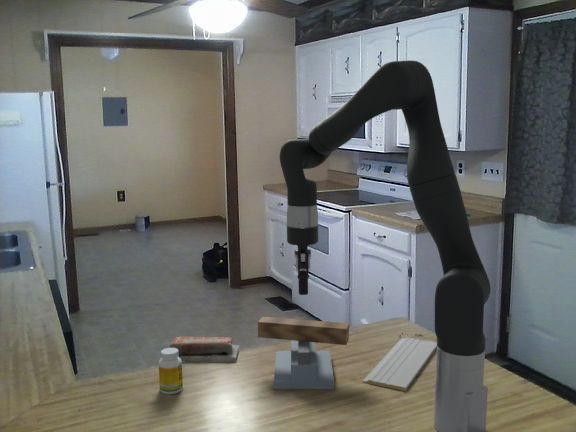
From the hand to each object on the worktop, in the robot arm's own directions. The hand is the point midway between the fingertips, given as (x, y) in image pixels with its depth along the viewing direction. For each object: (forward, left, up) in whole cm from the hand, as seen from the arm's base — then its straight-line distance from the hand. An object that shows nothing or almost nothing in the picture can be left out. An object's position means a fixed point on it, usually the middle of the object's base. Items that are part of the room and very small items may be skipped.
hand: (303, 289), depth 143 cm
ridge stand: (0, 0, -21) cm, 21 cm away
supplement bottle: (+12, +30, -22) cm, 39 cm away
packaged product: (+26, +14, -22) cm, 36 cm away
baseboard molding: (-10, -24, -22) cm, 34 cm away
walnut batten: (0, 0, -12) cm, 12 cm away
